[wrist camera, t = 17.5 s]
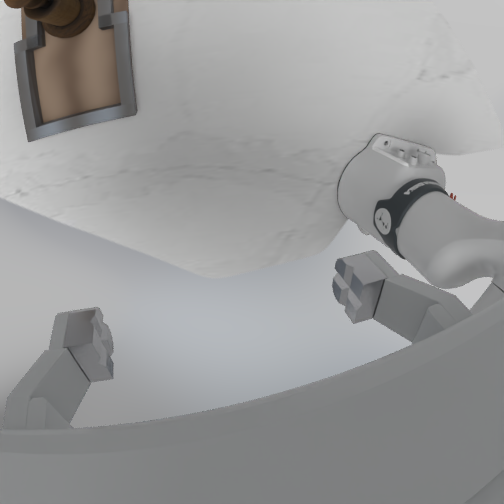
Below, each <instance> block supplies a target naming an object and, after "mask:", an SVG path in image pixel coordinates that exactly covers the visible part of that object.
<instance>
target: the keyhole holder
mask: <svg viewBox="0 0 504 504" xmlns="http://www.w3.org/2000/svg"><path fill="white" fill-rule="evenodd" d="M94 2H95V6H96V10H95V15H94V18H93V20H92V22H91V24H90V25H89V26H88V27H87V28H86V29H85V30H84V31H83V32H82V33H80V34H78V35H76V36H74V37H71V38H58V37H54V36H52V35H50V34H48V33H47V32H46V31H45V29H44V28H43V25H42V22H41V21H37V20H33V19H30V18H28V17H27V16H26V15H25V13H24V7H22V8H21V18H22V40H21V41H18V42H16V43H14V53H15V64H16V73H17V81H18V89H19V95H20V102H21V108H22V114H23V119H24V124H25V129H26V134H27V139H28V142H31V141H34V140H37V139H41V138H44V137H47V136H51V135H54V134H58V133H61V132H65V131H68V130H72V129H76V128H80V127H84V126H88V125H92V124H96V123H101V122H105V121H109V120H114V119H119V118H124V117H129V116H134V115H136V112H137V107H136V99H135V90H134V80H133V70H132V58H131V46H130V31H129V11H128V0H94Z"/></svg>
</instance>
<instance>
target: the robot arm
mask: <svg viewBox="0 0 504 504" xmlns="http://www.w3.org/2000/svg"><path fill="white" fill-rule="evenodd" d="M385 141H386V142H385ZM384 142H385V144H384ZM455 199H456V196H455V197H454V199H453V193H451V195H450V197H449V196H448V194H447V192H446V191H445V174H444V171H443V169H442V168H441V167H440V166H438V165H437V160H436V154H435V151H434V150H433V149H431V148H430V147H427V146H423V145H420V144H416V143H413V142H410V141H406V140H402V139H399V138H395V137H391V136H387V135H383V134H376V135H375V136H374V137H373V138H372V140H371V141H370V143H369V144H368V146H367V147H366V148H365V149H364V150H363V151H362V152H361V153H359V154H358V155H357V156H356V157H355V158H353V160H352V161H351V162H350V163H349V164H348V166H347V167H346V169H345V170H344V172H343V174H342V177H341V180H340V183H339V187H338V202H339V206H340V208H341V211H342V212H343V214H344V215H345V216H346V217H347V218H348V219H350V220H352V221H353V222H355V223H356V224H357V225H358V228H359V229H360V231H361V232H362V233H364V234H365V235H369V234H370V235H372V236H373V237H374V238H376V239H377V240H378V241H380V242H381V243H382V244H384V245H385V246H386V247H389V248H390V249H391V250H392V251H393V252H394V253H395V254H396V255H398V256H400V257H401V258H403V259H406V260H407V261H409V262H410V263H411V264H412V265H413V266H414V267H415V268H416V269H417V270H418V271H419V272H420V273H421V274H422V275H423V276H424V277H425V278H426V279H427V281H428V282H429V283H431V284H432V285H434V286H436V287H438V288H436V287H434V286H431V285H429V284H426V283H424V282H421V281H419V280H416V279H413V278H411V277H409V276H406V275H404V274H402V275H399V274H398V273H397V272H396V271H395V270H394V269H393V268H392V267H391V266H390V265H389V264H388V263H387V262H386V260H385V259H384V258H382V257H381V255H380V254H379V253H378V252H376V251H374V250H372V251H368V252H364V253H361V254H357V255H353V256H348V257H344V258H339V259H337V261H336V264H335V269H336V271H337V272H338V273H337V274H336V275H335V277H334V278H333V284H332V287H333V292H334V295H335V297H336V299H337V301H338V302H339V303H340V304H342V305H344V306H346V307H345V312H346V314H347V315H348V317H349V318H350V319H351V321H352V322H353V324H355V323H358V322H361V321H365V320H368V319H371V318H373V319H374V320H376V321H378V322H379V323H381V324H382V325H384V326H386V327H388V328H389V329H391V330H393V331H394V332H396V333H397V334H399V335H401V336H402V337H404V338H406V339H407V340H409V341H411V342H412V345H410V346H408V347H406V348H403V349H401V350H399V351H396V352H394V353H392V354H389V355H387V356H384V357H382V358H379V359H377V360H375V361H372V362H369V363H367V364H364V365H362V366H359V367H356V368H353V369H351V370H348V371H345V372H343V373H340V374H337V375H334V376H331V377H328V378H325V379H322V380H319V381H316V382H313V383H310V384H307V385H303V386H300V387H297V388H294V389H290V390H287V391H284V392H280V393H277V394H273V395H270V396H266V397H262V398H258V399H254V400H251V401H247V402H243V403H238V404H235V405H230V406H225V407H221V408H217V409H212V410H207V411H202V412H197V413H192V414H186V415H181V416H175V417H169V418H163V419H156V420H150V421H143V422H135V423H127V424H118V425H109V426H98V427H85V428H73V427H72V426H71V425H70V422H71V420H72V418H73V416H74V414H75V412H76V411H77V409H78V407H79V405H80V403H81V401H82V399H83V397H84V396H85V394H86V392H87V389H88V388H89V386H90V384H91V382H97V381H103V380H110V379H113V361H112V359H111V357H110V356H111V355H112V353H113V341H112V335H111V332H110V329H109V327H108V325H107V324H105V323H104V322H103V314H102V312H101V310H100V308H98V307H94V308H87V309H80V310H73V311H68V312H62V313H58V314H57V315H56V317H55V321H54V326H53V330H52V335H51V340H50V346H49V350H45V351H44V352H43V354H42V355H41V356H40V357H39V358H38V360H37V361H36V362H35V363H34V365H33V366H32V367H31V368H30V369H29V371H28V372H27V373H26V374H25V376H24V377H23V378H22V379H21V381H20V382H19V383H18V384H17V386H16V387H15V388H14V390H13V391H12V392H11V393H10V395H9V396H8V397H7V402H6V408H5V414H4V422H3V429H0V504H504V221H497V220H492V219H488V218H485V217H482V216H480V215H478V214H477V213H475V212H473V211H471V210H470V209H468V208H466V207H464V206H463V205H461V204H459V203H458V202H456V201H455ZM481 277H492V278H493V280H492V283H491V284H490V286H489V287H488V288H487V289H486V291H485V292H484V293H483V295H482V296H481V297H480V298H479V300H478V301H477V302H476V303H475V305H474V306H473V307H472V308H471V309H470V310H468V309H467V307H466V306H465V305H464V304H463V303H462V302H461V301H460V300H459V299H458V298H457V297H456V296H455V295H453V294H450V293H448V292H446V291H443V290H441V289H439V288H443V289H450V288H457V287H460V286H463V285H465V284H467V283H469V282H470V281H472V280H474V279H477V278H481Z"/></svg>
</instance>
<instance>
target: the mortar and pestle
mask: <svg viewBox="0 0 504 504" xmlns="http://www.w3.org/2000/svg"><path fill="white" fill-rule="evenodd" d="M4 2H5V3H6V5H7V6H9V7H11V8H22V7H24V13H25V15H26V16H27V17H28V18H30V19H33V20H37V21H41V22H42V25H43V28H44V29H45V31H46V32H47V33H48V34H50V35H52V36H54V37H58V38H71V37H74V36H76V35H78V34H80V33H82V32H83V31H84V30H85V29H86V28H87V27H88V26H89V25H90V24H91V22H92V20H93V18H94V15H95V10H96V6H95V2H94V0H4Z"/></svg>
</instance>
